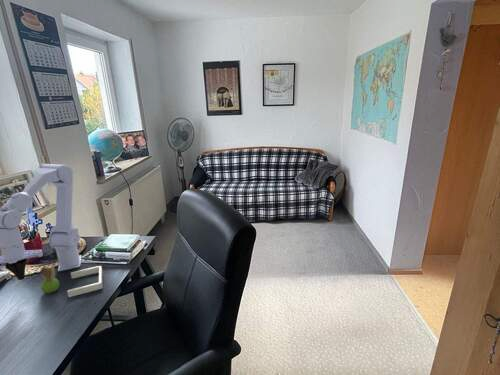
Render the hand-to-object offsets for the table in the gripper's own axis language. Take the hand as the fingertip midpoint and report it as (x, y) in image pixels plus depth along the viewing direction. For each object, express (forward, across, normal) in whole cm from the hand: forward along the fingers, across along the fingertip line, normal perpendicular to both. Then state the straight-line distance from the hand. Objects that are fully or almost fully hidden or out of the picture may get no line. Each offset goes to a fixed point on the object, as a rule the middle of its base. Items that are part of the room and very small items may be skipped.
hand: (21, 278), depth 94 cm
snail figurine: (+9, +8, 0) cm, 11 cm away
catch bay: (+8, +18, 0) cm, 20 cm away
